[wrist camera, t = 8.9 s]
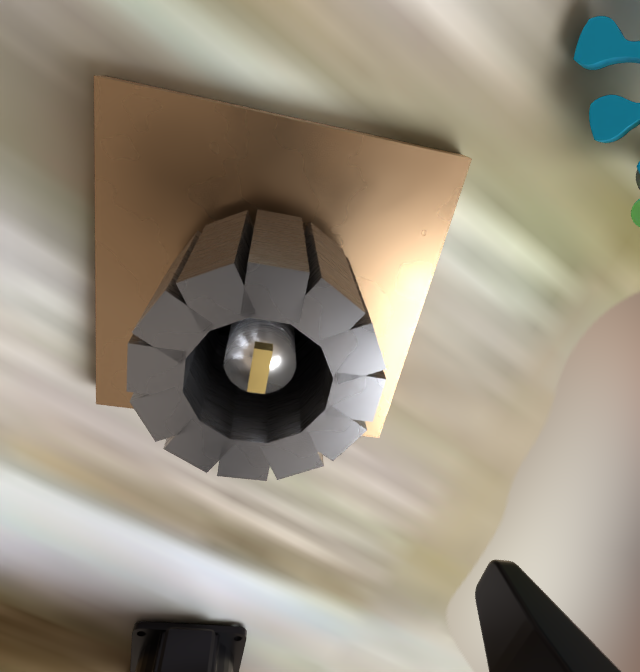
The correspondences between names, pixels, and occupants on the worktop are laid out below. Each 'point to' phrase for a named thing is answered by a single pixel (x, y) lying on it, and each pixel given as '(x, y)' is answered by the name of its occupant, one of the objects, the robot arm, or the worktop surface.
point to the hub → (210, 346)
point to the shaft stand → (251, 194)
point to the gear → (611, 110)
